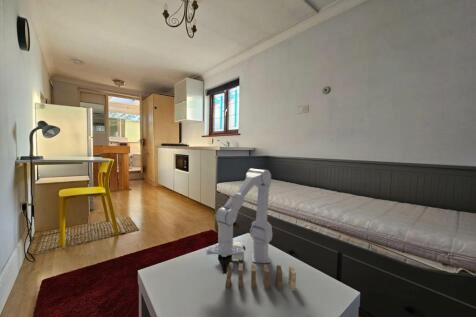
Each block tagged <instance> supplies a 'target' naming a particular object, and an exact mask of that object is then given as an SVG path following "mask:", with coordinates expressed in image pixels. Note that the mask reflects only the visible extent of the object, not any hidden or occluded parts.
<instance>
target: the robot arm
mask: <svg viewBox="0 0 476 317" xmlns="http://www.w3.org/2000/svg"><path fill="white" fill-rule="evenodd" d="M271 183H272V174H271V172H270V170H269V169H258V168H252V167H251V168H249V169H248V170H247V172H246V174H245V179H244V181H243V183H242V185H241V186H240V188H239V189H238V191H237V192H234V193H232V194H231V195H230V197H229V199H228V200H227V202H225V204H224V205H223V206H222V207H220V208H218V209H217V211H216V213H215V215H214V218H215V221H216V222H217V227H218V228H217V229H218V231H217V232H218V233H217V237H218V238H217V239H218V240H217V244H218V247H216V246H213V247H207V248H206V255H207V256H208V255H209V256H210V255H217V260H218V262H219V264H220V267H221V270H222V274H224V275H227V273H228V268H229V263H231V262H232V260H233V259H232V255H241V256H244V257H245V251H244V249H239V248H234V247H233V242H234V240H233V239H234V223H235V222H236V221H237V217H238V213H239V210H240V209H241V207H242V206H243V205H244V203H245V197H246V195H247V194H249V192H250V191H251V189H252V188H253V187H254V186H256V187H257V198H256V200H257V202H256V217H255V220H253V221H252V222H251V227H250V229H249V236H250V237H251V239H252V240H253V242H252V243H253V250H252V252H251V255H252V256H251V260H252V261H251V262H252V263H262V264H264V263H265V264H269V263H271V262H270V257H269V243H270V242H271V241H272V239H273V228H272V224H271V223H270V222H269V221H268V212H269V211H268V210H269V199H270V198H269V196H270V187H271V185H272V184H271Z"/></svg>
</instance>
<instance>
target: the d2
mask: <svg viewBox="0 0 476 317" xmlns="http://www.w3.org/2000/svg"><path fill="white" fill-rule="evenodd" d="M237 270H238V277H237V279H238V280H237V282H238V283H237V288H238V289H239V288H240V289H243V282H244V281H243V280H244V279H243V278H244V276H243V275H244V274H243V273H244V263H242V264H241V263H239V264H238V269H237Z"/></svg>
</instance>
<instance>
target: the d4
mask: <svg viewBox="0 0 476 317" xmlns="http://www.w3.org/2000/svg"><path fill="white" fill-rule="evenodd" d="M269 284H270V268H269V265H268V264H263V288H264V289H263V290H269Z"/></svg>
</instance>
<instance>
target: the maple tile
mask: <svg viewBox="0 0 476 317" xmlns="http://www.w3.org/2000/svg"><path fill="white" fill-rule="evenodd" d="M296 272H297V271H296V270H295V267H294V266H293V265H289V266H288V285H289V289H290V291H292V292H295V291H296V285H297V284H296V281H297V279H296V278H297V273H296Z"/></svg>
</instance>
